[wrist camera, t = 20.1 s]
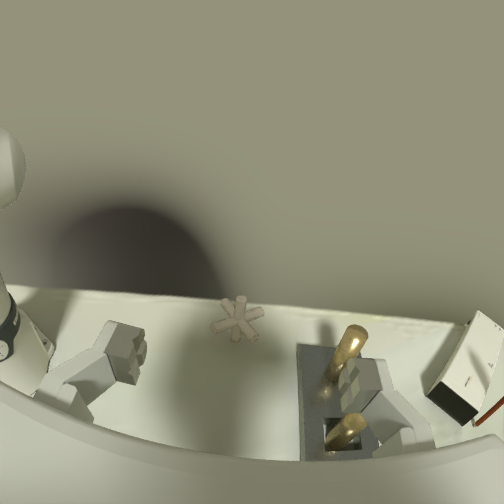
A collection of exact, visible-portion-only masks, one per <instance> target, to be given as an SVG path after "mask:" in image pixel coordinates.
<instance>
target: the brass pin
mask: <svg viewBox="0 0 504 504" xmlns="http://www.w3.org/2000/svg"><path fill="white" fill-rule="evenodd" d="M360 414H361V413H346V414H345V415H344V416H343V417H342V418H341V420H340V421H339V422H338V423H337V424H336V425H335V426H334V428H333V429H332V430H331V431H330V432H329V433H328V434H327V436H326V443H327V445H328V446H329V447H330V448H332V449H336V450H338V449H342V448H343V447H345V446H346V445H347V444H348V443H349V442H350V441H351V440H352V439H353V438H354V437H355V436H357V435H358V434H359V433H360V432H361V431H362V430H363V429H364V428H365V427H366V426H367V425H368V424H367V423H366V422H365V420H364V419H363V417H362V416H361V415H360Z"/></svg>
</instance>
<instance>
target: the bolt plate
mask: <svg viewBox="0 0 504 504" xmlns="http://www.w3.org/2000/svg"><path fill="white" fill-rule="evenodd" d="M367 339H368V333H367V331H366V330H365V329H364V328H363V327H361V326H359V325H350V326H348V327H347V329H346V331H345V333H344V335H343V337H342V339H341V341H340V343H339V345H338V347H337V348H331V347H319V346H308V345H300V346H299V348H298V351H297V372H298V395H299V425H300V461H342V460H358V459H370V458H373V455H372V453H373V452H374V451H375V450H376V449H377V448H379V443H378V438H377V437H376V436H375V434H374V433H373V431H372V430H371V429H370V427H369V426H368V425H367V426H366V427H365V428H364V429H363V430H362V431H361V432H360V433H359V434H358V435H357V436H355V437H354V438H353V439H354V447H355V450H352V451H325V443H324V429H323V424H337V423H338V422H339V421H340V420H341V418H342V417H343V416H344V415H345V414H346V413H342V408H341V401H340V399H341V398H342V396H343V394H342V393H341V392H340V391H339V386H338V384H339V377H340V374H341V372H342V370H343V369H345V368H346V367H347V362H348V360H349V359H350V358H362V357H361V353H360V351H361V349H362V347H363V345H364V344H365V342H366V340H367Z"/></svg>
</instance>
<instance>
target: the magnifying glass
mask: <svg viewBox="0 0 504 504" xmlns="http://www.w3.org/2000/svg"><path fill="white" fill-rule="evenodd" d="M503 404H504V396H503V397H502V398H501V399H500V400H499V401H498V402H497V403H496V404H495V405H494V406H493V407H492V408H491V409H490V410H489V411H488V412H486V413H485V414H484V415H483V416H482V417H481V418H480V419H479V420H477V421H476V422H475V424H474V427H476V426H479V425H480V424H481V423H483V422H484V421H485V420H486V419H487V418H488V417H489V416H491V415H492V414H493V413H494V412H495V411H496V410H497V409H498V408H499V407H501V406H502V405H503Z"/></svg>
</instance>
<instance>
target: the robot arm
mask: <svg viewBox="0 0 504 504" xmlns="http://www.w3.org/2000/svg"><path fill="white" fill-rule="evenodd" d="M25 171H26V162H25V156H24V152H23V149H22V147H21V145H20V143H19V141H18V140H17V138H16V137H15V136H14V135H13V134H12V133H11V132H9V131H8V130H6V129H4V128H2V127H0V210H2V209H3V208H5V207H6V206H8V205H9V204H11V203H13V202H14V201H16V200H17V198H18V196H19V194H20V192H21V189H22V187H23V183H24V179H25ZM144 337H145V331H144V329H142V328H138V327H134V326H130V325H126V324H123V323H119V322H115V321H111V320H108V321H107V322H106V323H105V325H104V327H103V329H102V330H101V332H100V334H99V336H98V338H97V340H96V342H95V343H94V345H93V347H92V349H87V350H85V351H83V352H82V353H80V354H78V355H77V356H75V357H73V358H72V359H70V360H68V361H66V362H65V363H63V364H61V365H60V366H58V367H56V368H55V369H53V370H51V371H50V372H48V373H47V368H48V362H49V359H50V358H51V356H52V354H53V353H54V350H55V347H54V345H53V344H52V343H51V341H50V340H49V339H48V338H47V337H46V336H45V335H44V334H43V333H42V332H41V331H40V329H39V328H38V327H37V326H36V325H35V324H34V323H33V321H32V320H31V319H30V318H29V317H28V316H27V314H26V313H25V312H24V311H23V310H22V309H21V308H17V305H16V303H15V301H14V299H13V298H12V296H11V294H10V293H9V292H8V291H7V289H6V286H5V284H4V281H3V278H2V276H1V273H0V504H504V442H503V441H502V440H501V439H500V438H499V437H498V436H496V435H495V434H488V435H485V436H482V437H478V438H475V439H471V440H468V441H464V442H461V443H457V444H453V445H449V446H444V447H440V448H436V446H435V442H434V438H433V434H432V430H431V427H430V424H429V423H428V422H427V421H426V420H425V418H424V417H423V416H422V415H421V414H420V413H419V412H418V411H417V410H416V409H415V408H414V407H413V406H412V405H411V404H410V403H409V402H408V401H407V400H406V399H405V398H404V397H403V396H402V395H401V394H400V393H399V392H398V391H397V390H394V388H393V384H392V381H391V377H390V374H389V370H388V367H387V363H386V361H385V359H372V358H350V359H349V360H348V362H347V367H346V368H345V369H343V370H342V372H341V374H340V377H339V384H338V386H339V391H340V392H341V393H342V394H343V396H342V398H341V399H340V401H341V408H342V413H361V414H360V415H361V416H362V417H363V419H364V420H365V422H366V423H367V424H368V426H369V427H370V429H371V430H372V431H373V433H374V434H375V436H376V437H377V438H378V440H379V441H380V443H381V444H382V445H381V446H380V447H379V448H377V449H376V450H375V451H374V452H373V453H372V455H373V458H370V459H358V460H342V461H279V460H263V459H251V458H241V457H233V456H225V455H218V454H211V453H205V452H199V451H193V450H188V449H183V448H178V447H173V446H169V445H165V444H160V443H156V442H152V441H148V440H144V439H141V438H137V437H134V436H130V435H127V434H123V433H120V432H117V431H114V430H111V429H108V428H105V427H102V426H99V425H96V424H93V420H94V417H93V415H92V413H91V412H90V410H89V409H88V407H87V406H88V405H89V404H90V403H91V402H93V401H94V400H95V399H96V398H97V397H99V396H100V395H101V394H102V393H104V392H105V391H106V390H107V389H108V388H110V387H111V386H112V385H113V384H115V383H116V381H119V382H123V383H127V384H131V385H135V386H136V383H137V380H138V378H139V375H140V369H139V367H140V366H141V365H143V364H144V361H145V358H146V353H147V343H146V341H145V340H144ZM45 344H46V345H45ZM36 390H37V391H36ZM35 391H36V393H35V395H34V397H33V398H32V397H30V395H31V394H32V393H34V392H35Z"/></svg>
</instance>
